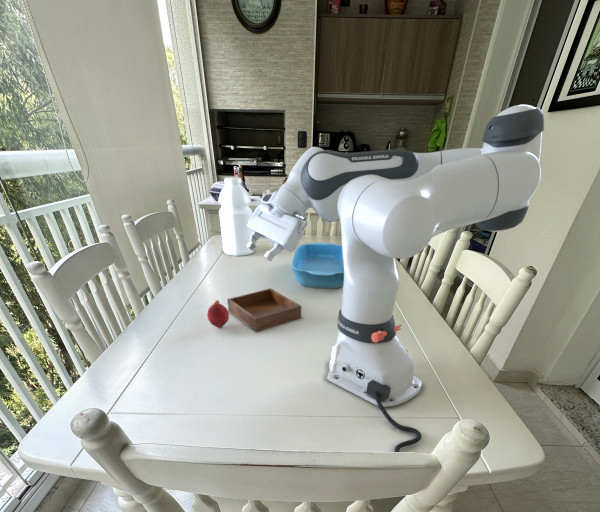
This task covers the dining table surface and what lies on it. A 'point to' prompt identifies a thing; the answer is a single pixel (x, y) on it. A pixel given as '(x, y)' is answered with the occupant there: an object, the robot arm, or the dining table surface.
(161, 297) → the dining table surface
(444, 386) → the dining table surface
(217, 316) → the onion
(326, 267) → the casserole dish
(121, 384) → the dining table surface
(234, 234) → the bottle
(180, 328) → the dining table surface
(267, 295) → the tray
